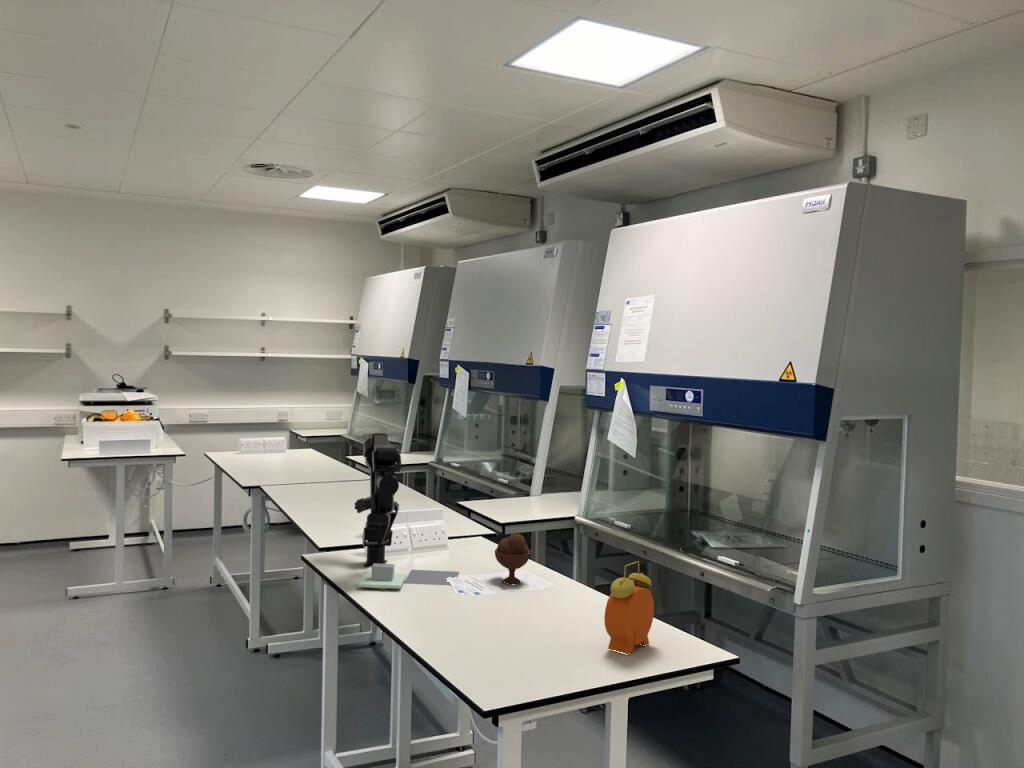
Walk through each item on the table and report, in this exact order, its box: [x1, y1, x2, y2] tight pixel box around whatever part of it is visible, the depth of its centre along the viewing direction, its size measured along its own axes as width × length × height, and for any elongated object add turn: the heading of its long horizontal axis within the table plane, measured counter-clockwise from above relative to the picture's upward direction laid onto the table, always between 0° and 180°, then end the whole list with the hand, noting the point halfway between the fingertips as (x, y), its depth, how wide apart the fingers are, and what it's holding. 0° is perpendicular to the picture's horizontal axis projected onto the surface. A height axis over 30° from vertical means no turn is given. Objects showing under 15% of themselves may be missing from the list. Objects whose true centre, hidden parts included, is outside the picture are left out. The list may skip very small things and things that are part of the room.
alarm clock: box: [603, 560, 655, 654], centre depth 187 cm, size 13×6×20 cm, turn 141°
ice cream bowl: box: [494, 533, 531, 585], centre depth 238 cm, size 11×11×15 cm
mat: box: [403, 569, 460, 586], centre depth 238 cm, size 15×15×1 cm
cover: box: [357, 563, 407, 589], centre depth 229 cm, size 12×12×5 cm
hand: (382, 540), depth 236 cm, fingers open, 9 cm apart
